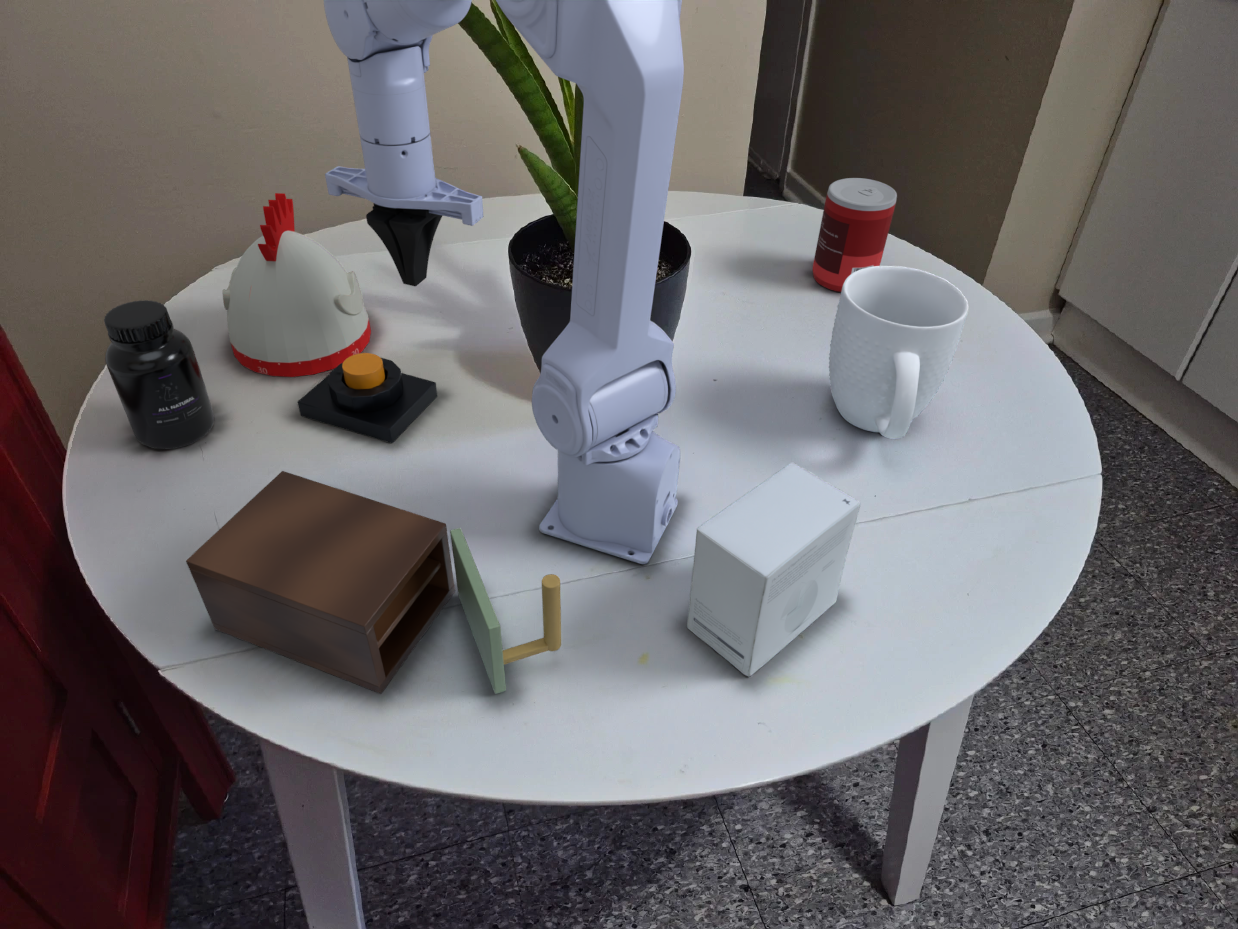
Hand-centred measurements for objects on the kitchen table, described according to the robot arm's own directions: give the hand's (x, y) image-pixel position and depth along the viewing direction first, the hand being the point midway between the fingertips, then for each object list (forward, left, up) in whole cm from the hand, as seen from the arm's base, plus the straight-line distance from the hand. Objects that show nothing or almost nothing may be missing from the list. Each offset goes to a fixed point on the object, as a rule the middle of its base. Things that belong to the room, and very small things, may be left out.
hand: (414, 280), depth 81 cm
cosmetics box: (-39, +17, -11) cm, 44 cm away
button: (+2, +7, -7) cm, 10 cm away
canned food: (-35, -38, -11) cm, 53 cm away
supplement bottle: (+16, +17, -11) cm, 26 cm away
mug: (-43, -11, -11) cm, 46 cm away
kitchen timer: (+15, 0, -11) cm, 18 cm away
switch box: (+2, +7, -10) cm, 13 cm away
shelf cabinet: (-10, +29, -10) cm, 32 cm away
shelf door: (-23, +26, -10) cm, 36 cm away
